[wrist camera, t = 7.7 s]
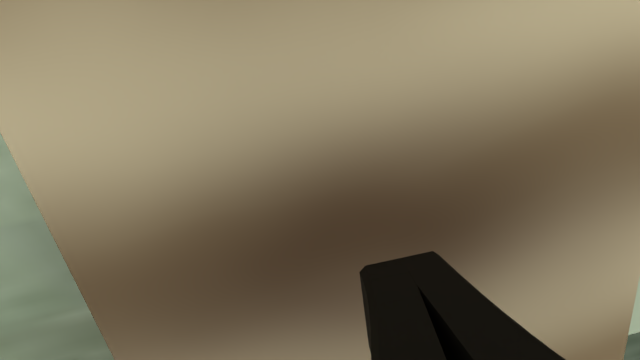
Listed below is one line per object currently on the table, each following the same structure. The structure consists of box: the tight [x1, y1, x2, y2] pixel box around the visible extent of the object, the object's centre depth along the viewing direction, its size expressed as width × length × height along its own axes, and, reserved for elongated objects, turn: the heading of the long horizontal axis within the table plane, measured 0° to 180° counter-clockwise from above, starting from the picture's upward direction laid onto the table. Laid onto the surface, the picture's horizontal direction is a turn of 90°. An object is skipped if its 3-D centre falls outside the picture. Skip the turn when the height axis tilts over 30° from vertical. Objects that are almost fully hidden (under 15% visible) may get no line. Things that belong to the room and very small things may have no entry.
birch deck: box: [0, 0, 640, 360], centre depth 13 cm, size 20×12×4 cm, turn 9°
